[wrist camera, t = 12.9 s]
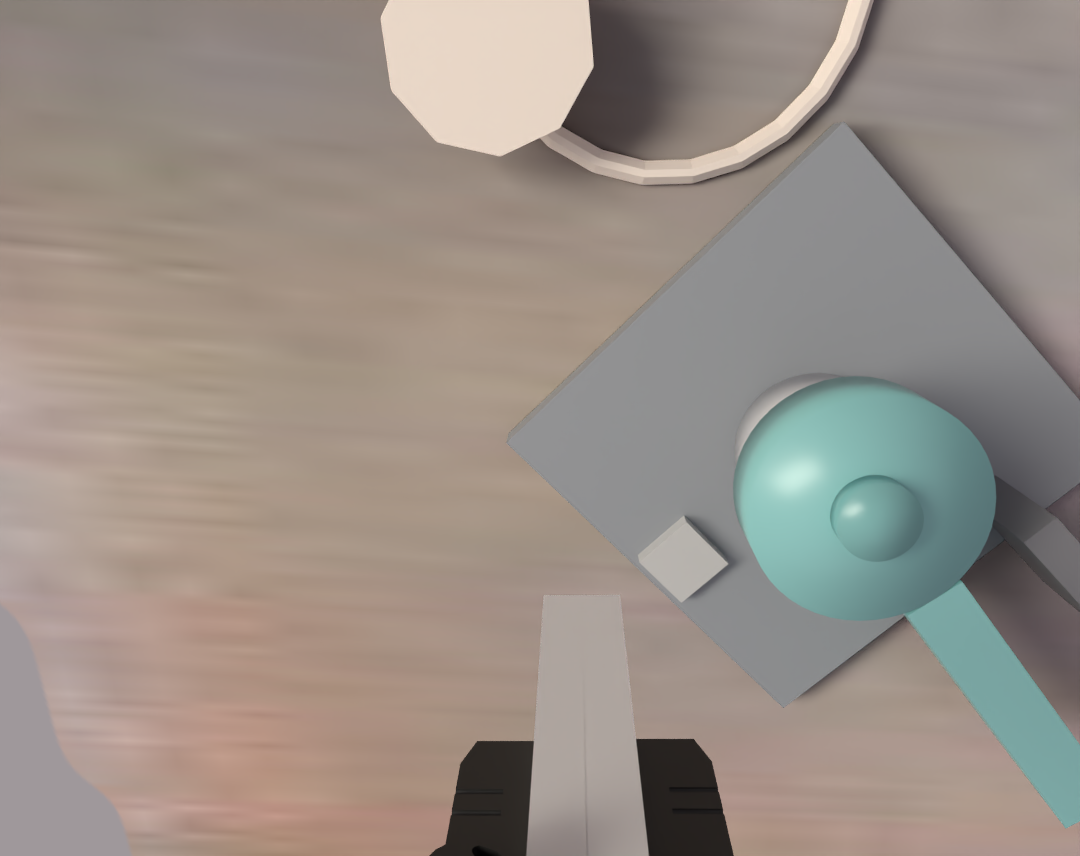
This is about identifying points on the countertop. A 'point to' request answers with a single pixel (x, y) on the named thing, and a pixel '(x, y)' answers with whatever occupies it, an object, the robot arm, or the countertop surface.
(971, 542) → the domed saucepan
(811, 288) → the post board
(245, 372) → the countertop surface
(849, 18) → the hand towel holder
